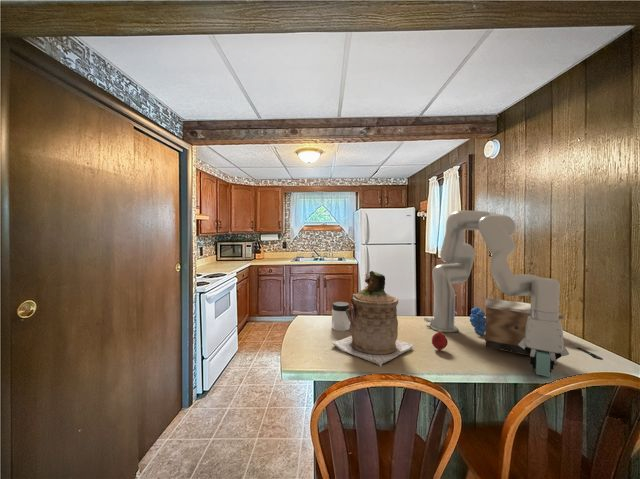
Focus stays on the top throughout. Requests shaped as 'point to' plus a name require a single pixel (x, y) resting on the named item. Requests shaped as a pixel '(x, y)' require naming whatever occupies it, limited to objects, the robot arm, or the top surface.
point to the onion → (439, 340)
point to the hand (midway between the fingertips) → (541, 368)
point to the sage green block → (542, 363)
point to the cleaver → (586, 352)
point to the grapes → (478, 320)
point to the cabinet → (505, 324)
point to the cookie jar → (373, 324)
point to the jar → (340, 316)
